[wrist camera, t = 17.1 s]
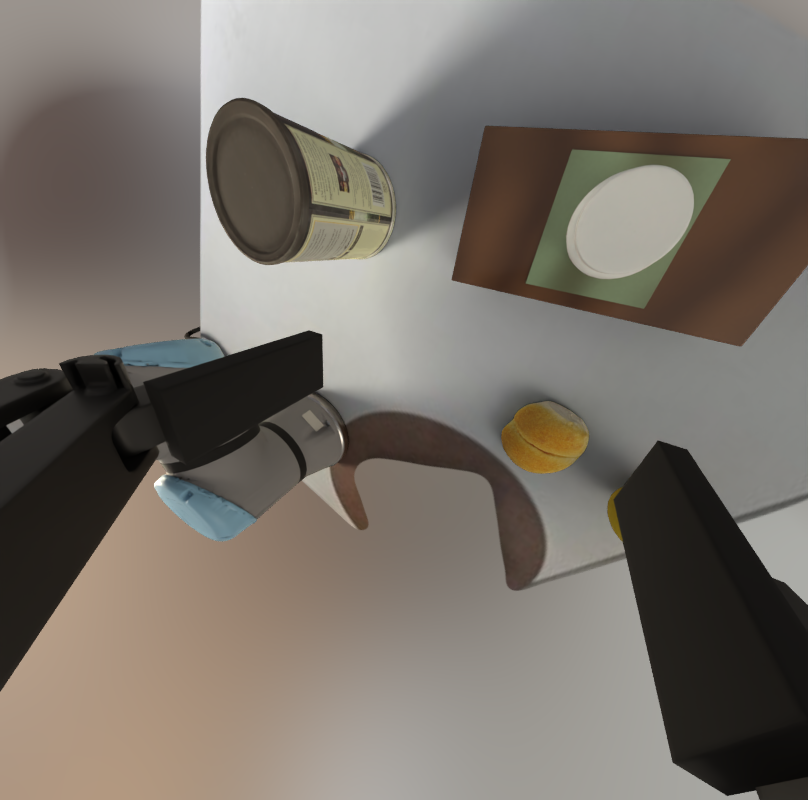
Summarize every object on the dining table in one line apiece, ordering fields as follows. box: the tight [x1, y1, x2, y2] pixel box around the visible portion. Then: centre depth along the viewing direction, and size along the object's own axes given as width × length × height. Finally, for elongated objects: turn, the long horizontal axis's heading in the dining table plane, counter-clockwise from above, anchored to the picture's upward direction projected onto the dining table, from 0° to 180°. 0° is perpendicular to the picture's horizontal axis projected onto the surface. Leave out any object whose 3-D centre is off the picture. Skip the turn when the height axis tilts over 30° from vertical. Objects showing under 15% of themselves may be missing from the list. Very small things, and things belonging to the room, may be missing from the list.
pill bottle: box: [566, 165, 694, 279], centre depth 15 cm, size 5×5×8 cm
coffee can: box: [206, 98, 396, 265], centre depth 27 cm, size 10×10×14 cm
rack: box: [452, 126, 808, 346], centre depth 22 cm, size 20×10×7 cm, turn 82°
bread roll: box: [501, 401, 589, 474], centre depth 32 cm, size 8×9×4 cm
